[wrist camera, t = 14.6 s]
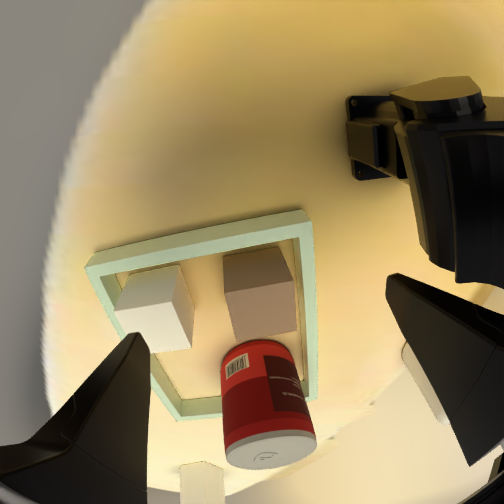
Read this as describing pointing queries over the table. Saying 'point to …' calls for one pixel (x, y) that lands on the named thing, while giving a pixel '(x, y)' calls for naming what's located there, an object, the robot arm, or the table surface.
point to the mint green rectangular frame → (208, 243)
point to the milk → (201, 484)
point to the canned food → (264, 408)
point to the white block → (158, 309)
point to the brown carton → (259, 294)
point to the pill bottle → (424, 384)
